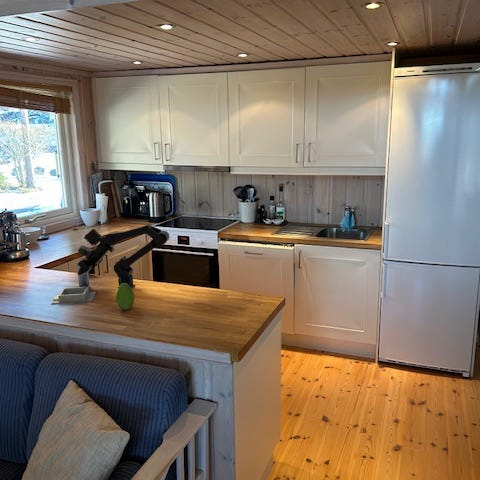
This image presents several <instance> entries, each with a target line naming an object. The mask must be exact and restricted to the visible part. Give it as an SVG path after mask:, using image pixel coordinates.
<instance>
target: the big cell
mask: <svg viewBox="0 0 480 480" xmlns="http://www.w3.org/2000/svg"><path fill="white" fill-rule="evenodd" d="M78 262H79V261H77V262H76V267H77V273H78V272H79V269H80V266H79V265H78V264H77V263H78ZM89 276H90V275H88V272H86V273H83V274H81V275H78V274H77V277H78V287H88V288H89V287H90V277H89Z"/></svg>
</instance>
